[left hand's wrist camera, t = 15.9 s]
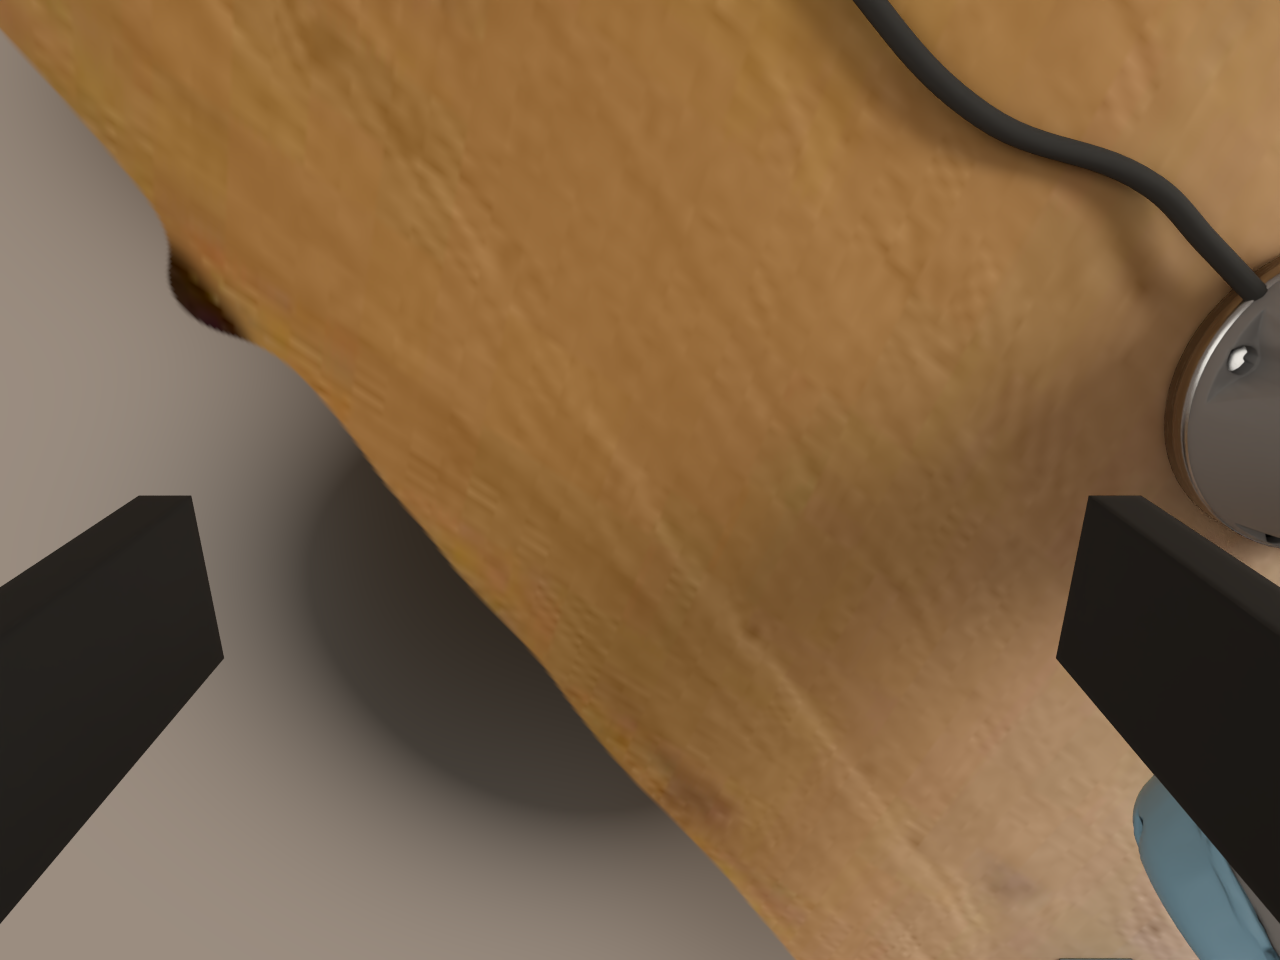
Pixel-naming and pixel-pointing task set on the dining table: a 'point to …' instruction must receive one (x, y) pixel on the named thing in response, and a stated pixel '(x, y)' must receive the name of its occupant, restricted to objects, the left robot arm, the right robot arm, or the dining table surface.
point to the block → (1095, 959)
